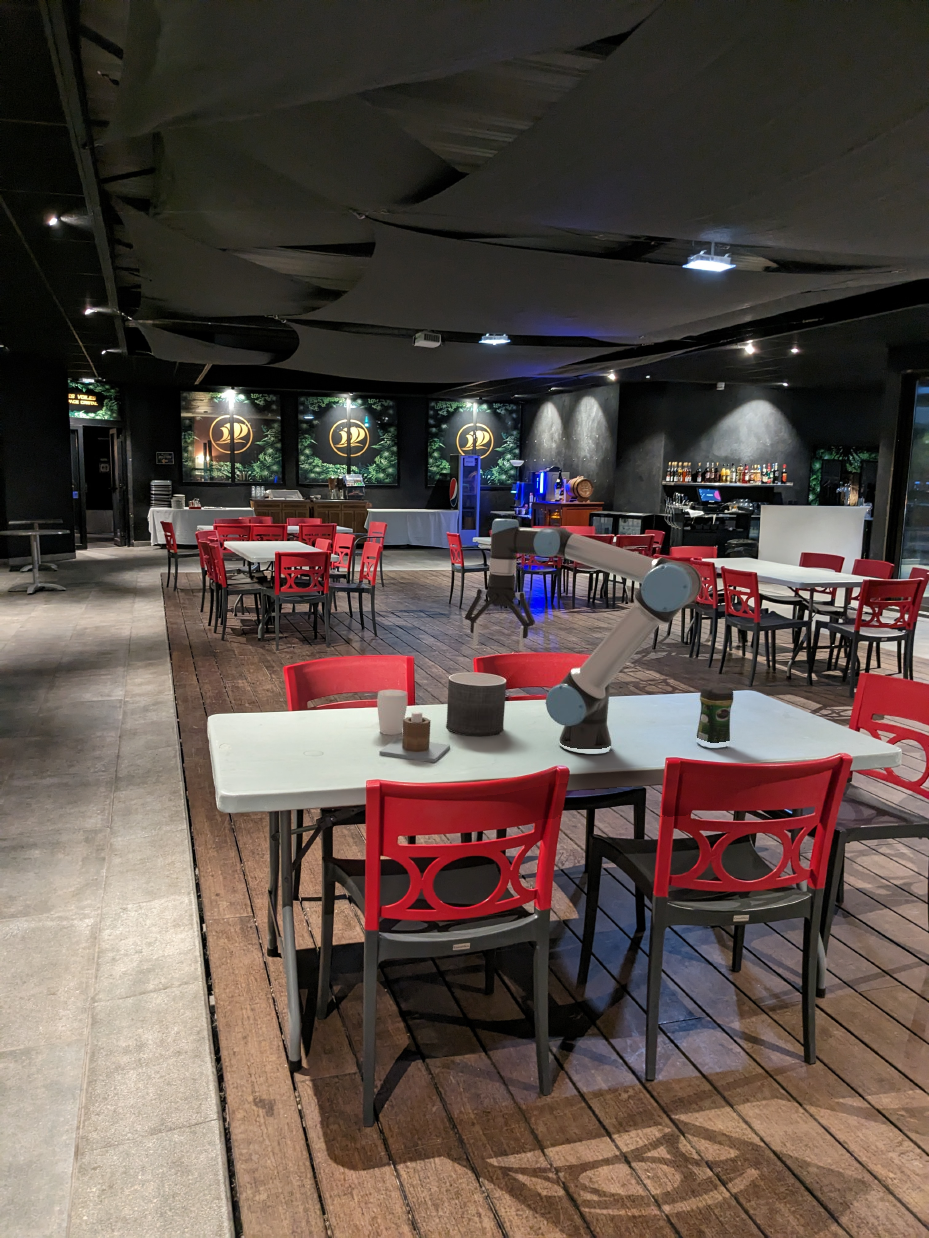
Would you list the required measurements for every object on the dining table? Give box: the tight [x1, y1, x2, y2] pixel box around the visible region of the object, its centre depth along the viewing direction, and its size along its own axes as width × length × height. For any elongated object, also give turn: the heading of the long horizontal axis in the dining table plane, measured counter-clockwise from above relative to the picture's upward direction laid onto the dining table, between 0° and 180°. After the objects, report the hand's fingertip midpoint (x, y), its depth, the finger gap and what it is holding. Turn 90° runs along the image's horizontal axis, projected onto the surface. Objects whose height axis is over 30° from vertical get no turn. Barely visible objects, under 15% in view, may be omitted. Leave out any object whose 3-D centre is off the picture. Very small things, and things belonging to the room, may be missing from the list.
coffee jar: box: [696, 685, 734, 743], centre depth 258 cm, size 10×8×19 cm
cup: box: [376, 689, 408, 736], centre depth 255 cm, size 9×9×12 cm
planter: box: [446, 672, 507, 737], centre depth 264 cm, size 18×18×16 cm
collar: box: [402, 716, 431, 752], centre depth 238 cm, size 7×7×8 cm
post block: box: [379, 711, 451, 764], centre depth 238 cm, size 16×14×11 cm
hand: (498, 647), depth 246 cm, fingers open, 13 cm apart
